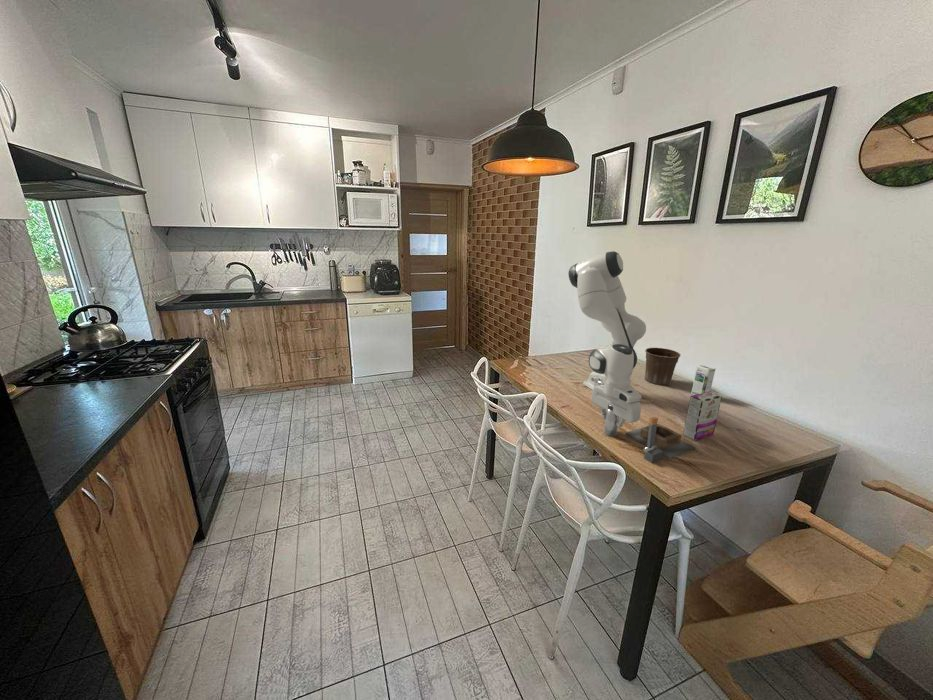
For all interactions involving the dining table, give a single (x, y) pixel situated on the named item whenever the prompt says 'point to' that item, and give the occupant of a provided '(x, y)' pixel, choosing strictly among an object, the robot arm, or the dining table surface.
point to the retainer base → (652, 454)
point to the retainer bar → (652, 431)
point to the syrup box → (703, 379)
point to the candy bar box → (702, 415)
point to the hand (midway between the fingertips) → (611, 422)
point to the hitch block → (663, 440)
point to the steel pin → (611, 422)
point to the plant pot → (660, 365)
